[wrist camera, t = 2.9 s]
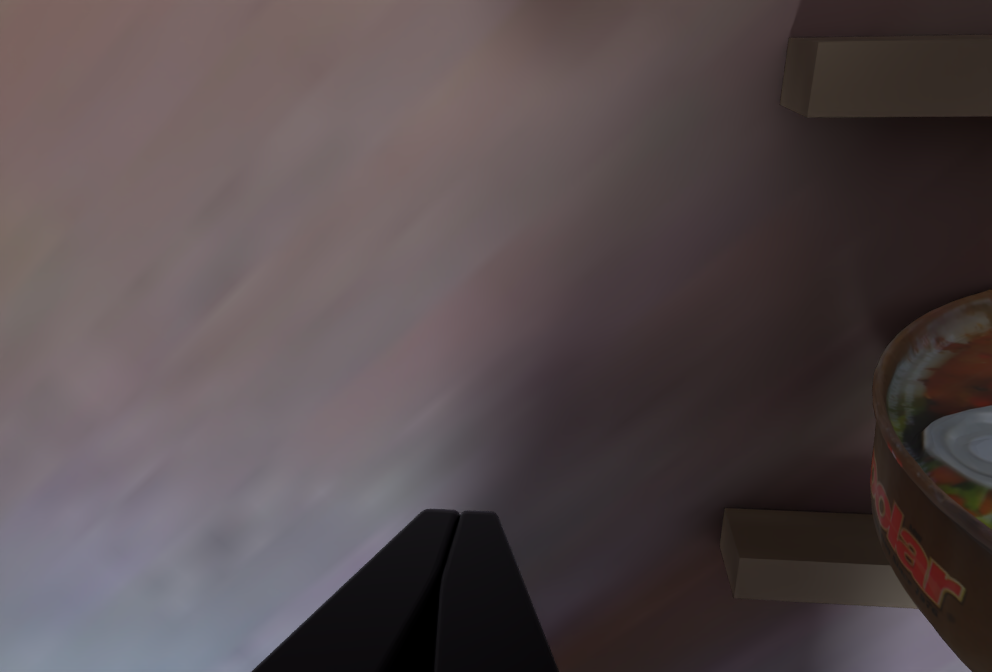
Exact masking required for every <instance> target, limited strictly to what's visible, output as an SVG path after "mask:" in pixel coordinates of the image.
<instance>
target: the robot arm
mask: <svg viewBox="0 0 992 672" xmlns="http://www.w3.org/2000/svg"><path fill="white" fill-rule="evenodd" d="M252 672H559V670H558V668H557V665H556V663H555V660H554V658H553V655H552V653H551V650H550V647H549V645H548V642H547V640H546V637H545V635H544V632H543V630H542V627H541V625H540V622H539V619H538V617H537V614H536V612H535V609H534V607H533V604H532V602H531V599H530V597H529V594H528V591H527V589H526V586H525V584H524V581H523V579H522V576H521V574H520V571H519V569H518V566H517V563H516V561H515V558H514V556H513V553H512V551H511V548H510V546H509V543H508V541H507V538H506V536H505V533H504V530H503V528H502V525H501V523H500V520H499V518H498V516H497V515H496V513H494V512H489V511H464V512H462V513H461V515H460V514H459V513H458V512H457V511H456V510H445V509H426V510H424V511H422V512H421V513H420V514H419V515H417V516H416V517H415V518H414V519H413V520H412V521H411V522H410V523H409V524H408V525H407V526H406V527H405V528H404V529H403V530H402V531H400V532H399V533H398V534H397V535H396V536H395V537H394V538H393V539H392V540H391V541H390V542H389V543H388V544H387V545H386V546H385V547H383V548H382V549H381V550H380V551H379V552H378V553H377V554H376V555H375V556H374V557H373V558H372V559H371V560H370V561H369V562H367V563H366V564H365V565H364V566H363V567H362V568H361V569H360V570H359V571H358V572H357V573H356V574H355V575H354V576H353V577H352V578H350V579H349V580H348V581H347V582H346V583H345V584H344V585H343V586H342V587H341V588H340V589H339V590H338V591H337V592H336V593H335V594H333V595H332V596H331V597H330V598H329V599H328V600H327V601H326V602H325V603H324V604H323V605H322V606H321V607H320V608H319V609H317V610H316V611H315V612H314V613H313V614H312V615H311V616H310V617H309V618H308V619H307V620H306V621H305V622H304V623H303V624H302V625H300V626H299V627H298V628H297V629H296V630H295V631H294V632H293V633H292V634H291V635H290V636H289V637H288V638H287V639H286V640H284V641H283V642H282V643H281V644H280V645H279V646H278V647H277V648H276V649H275V650H274V651H273V652H272V653H271V654H270V655H269V656H267V657H266V658H265V659H264V660H263V661H262V662H261V663H260V664H259V665H258V666H257V667H256V668H255V669H254V670H253V671H252Z"/></svg>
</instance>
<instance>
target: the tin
mask: <svg viewBox="0 0 992 672" xmlns="http://www.w3.org/2000/svg"><path fill="white" fill-rule="evenodd" d="M872 396H873V408H874V413H875V417H876V429H875V438H874V446H873V455H872V463H871V476H870V489H871V505H872V515H873V519H874V524H875V528H876V532H877V535H878V538H879V541H880V544H881V547H882V549H883V551H884V554H885V556H886V558H887V560H888V562H889V564H890V565H891V567H892V569H893V571H894V573H895V575H896V576H897V578H898V580H899V581H900V583H901V585H902V586H903V588H904V589H905V591H906V592H907V594H908V595H909V596H910V598H911V599H912V601H913V602H914V603H915V605H916V606H917V607H918V608H919V610H920V611H921V612H922V613H923V615H924V616H925V617H926V618H927V620H928V621H929V622H930V623H931V624H932V626H933V627H934V628H935V630H936V631H937V632H938V634H939V635H940V636H941V638H942V639H943V640H944V641H945V642H946V644H947V645H948V646H949V647H950V648H951V649H952V651H953V652H954V653H955V654H956V655H957V656H958V658H959V659H960V660H961V661H962V662H963V663H964V664H965V665H966V666H967V667H968V668H969V669H970V670H971V671H972V672H992V289H990V290H987V291H984V292H981V293H977V294H974V295H970V296H967V297H964V298H961V299H958V300H955V301H952V302H950V303H948V304H945V305H943V306H941V307H939V308H936V309H934V310H932V311H929V312H928V313H926V314H924V315H923V316H921V317H919V318H918V319H916V320H915V321H913V322H912V323H911V324H909V325H908V326H906V327H905V328H904V329H903V330H902V331H901V332H899V333H898V334H897V335H896V337H895V338H894V339H893V340H892V341H891V342H890V344H889V345H888V346H887V347H886V349H885V350H884V352H883V354H882V355H881V357H880V359H879V362H878V364H877V367H876V369H875V372H874V379H873V386H872Z"/></svg>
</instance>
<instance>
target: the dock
mask: <svg viewBox="0 0 992 672" xmlns="http://www.w3.org/2000/svg"><path fill="white" fill-rule="evenodd" d="M780 105H781V106H783V107H785V108H788V109H790V110H792V111H794V112H796V113H798V114H800V115H803V116H805V117H807V118H819V117H968V116H992V34H983V35H925V36H866V37H808V38H789V41H788V48H787V55H786V63H785V70H784V77H783V85H782V92H781V99H780ZM720 550H721V554H722V557H723V561H724V565H725V568H726V572H727V576H728V579H729V583H730V587H731V590H732V594H733V598H735V599H753V600H771V601H789V602H807V603H825V604H843V605H861V606H878V607H896V608H914V609H919V608H918V607H917V606H916V605H915V603H914V602H913V601H912V599H911V598H910V596H909V595H908V594H907V592H906V591H905V589H904V588H903V586H902V585H901V583H900V581H899V580H898V578H897V576H896V575H895V573H894V571H893V569H892V567H891V565H890V564H889V562H888V560H887V558H886V556H885V554H884V551H883V549H882V547H881V544H880V541H879V538H878V535H877V532H876V528H875V524H874V519H873V515H872V514H851V513H828V512H806V511H783V510H761V509H738V508H725V510H724V517H723V524H722V531H721V539H720Z"/></svg>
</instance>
